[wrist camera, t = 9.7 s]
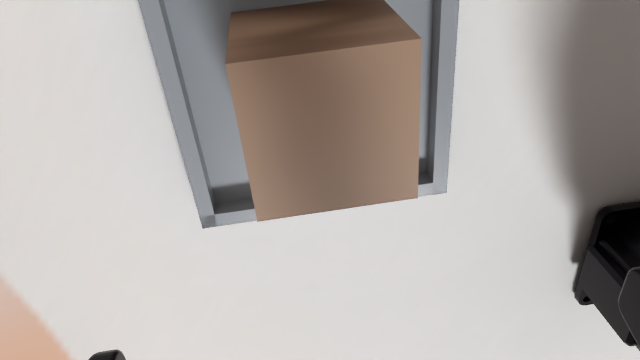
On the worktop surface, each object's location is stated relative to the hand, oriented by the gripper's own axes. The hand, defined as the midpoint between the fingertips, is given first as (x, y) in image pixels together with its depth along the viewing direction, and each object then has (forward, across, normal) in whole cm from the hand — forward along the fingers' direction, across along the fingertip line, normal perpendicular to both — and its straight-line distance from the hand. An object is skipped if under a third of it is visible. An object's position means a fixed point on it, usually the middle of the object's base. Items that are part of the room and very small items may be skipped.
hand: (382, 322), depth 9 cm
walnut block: (+11, 0, 0) cm, 11 cm away
